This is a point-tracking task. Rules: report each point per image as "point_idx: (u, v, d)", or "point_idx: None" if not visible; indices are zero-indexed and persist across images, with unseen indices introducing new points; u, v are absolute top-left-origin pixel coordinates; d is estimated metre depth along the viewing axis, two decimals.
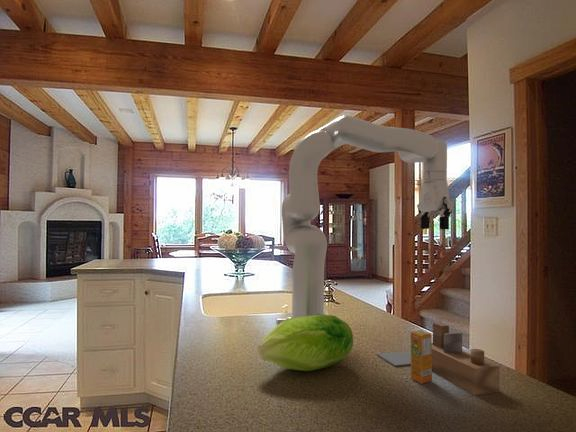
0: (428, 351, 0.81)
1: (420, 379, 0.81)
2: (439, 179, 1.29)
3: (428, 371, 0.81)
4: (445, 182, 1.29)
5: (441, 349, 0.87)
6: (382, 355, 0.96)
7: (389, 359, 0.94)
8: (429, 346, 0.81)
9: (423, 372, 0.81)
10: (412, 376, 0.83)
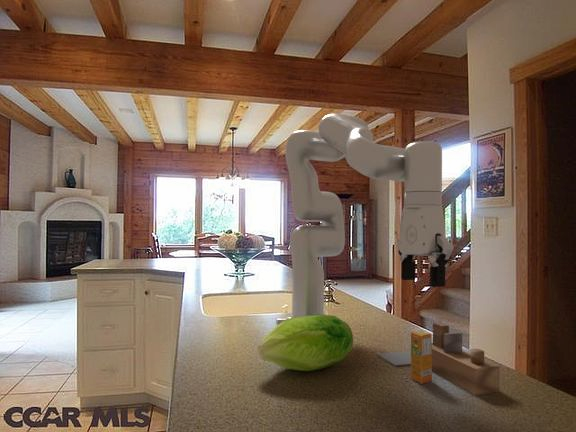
0: (428, 351, 0.81)
1: (420, 379, 0.81)
2: (429, 204, 0.79)
3: (428, 371, 0.81)
4: (439, 209, 0.79)
5: (441, 349, 0.87)
6: (382, 355, 0.96)
7: (389, 359, 0.94)
8: (429, 346, 0.81)
9: (424, 372, 0.81)
10: (412, 376, 0.83)
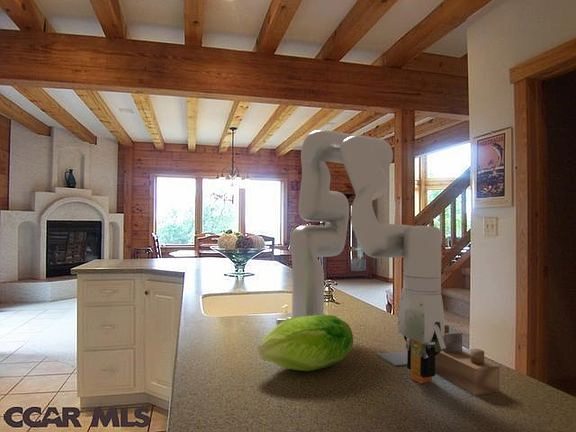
0: None
1: (420, 379, 0.81)
2: (428, 291, 0.79)
3: None
4: (438, 297, 0.79)
5: None
6: (382, 355, 0.96)
7: (389, 359, 0.94)
8: (429, 346, 0.81)
9: None
10: (412, 376, 0.83)
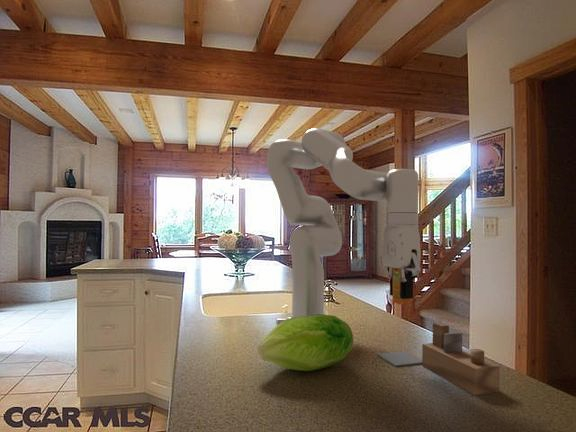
0: None
1: (400, 301, 0.93)
2: (407, 224, 0.92)
3: None
4: (415, 228, 0.91)
5: (441, 349, 0.87)
6: (382, 355, 0.96)
7: (389, 359, 0.94)
8: None
9: None
10: (394, 300, 0.95)
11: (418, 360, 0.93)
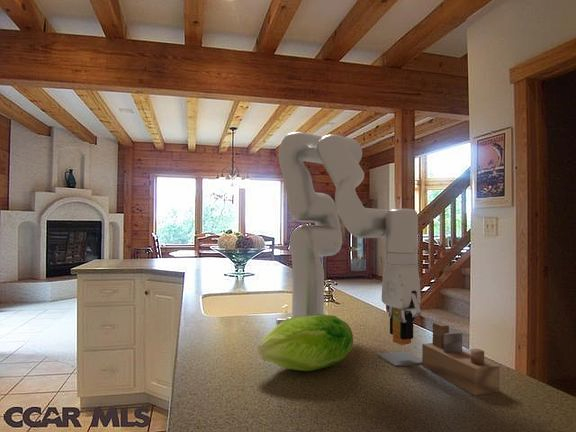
0: None
1: (400, 341, 0.93)
2: (406, 265, 0.92)
3: None
4: (415, 269, 0.91)
5: (441, 349, 0.87)
6: (382, 355, 0.96)
7: (389, 359, 0.94)
8: (408, 312, 0.94)
9: None
10: (394, 339, 0.95)
11: (418, 360, 0.93)
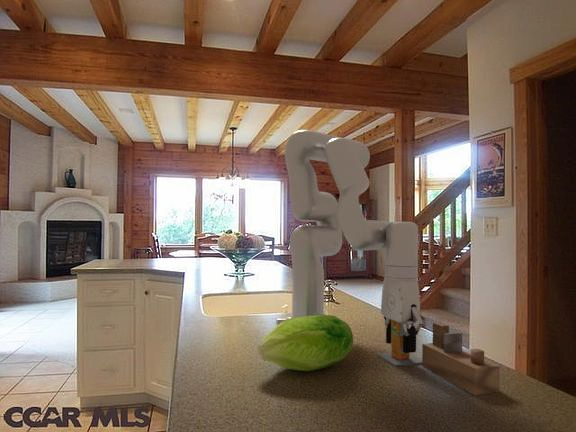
0: None
1: (398, 356, 0.93)
2: (406, 278, 0.91)
3: None
4: (414, 283, 0.91)
5: (441, 349, 0.87)
6: (382, 355, 0.96)
7: (389, 359, 0.94)
8: None
9: (401, 350, 0.93)
10: (392, 354, 0.95)
11: (418, 360, 0.93)
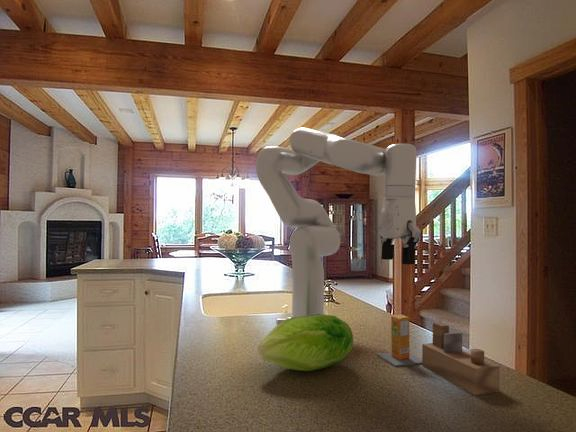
0: (406, 332, 0.94)
1: (398, 356, 0.93)
2: (403, 196, 0.96)
3: (406, 349, 0.94)
4: (411, 200, 0.95)
5: (441, 349, 0.87)
6: (382, 355, 0.96)
7: (389, 359, 0.94)
8: (407, 328, 0.94)
9: (402, 350, 0.93)
10: (392, 354, 0.95)
11: (418, 360, 0.93)
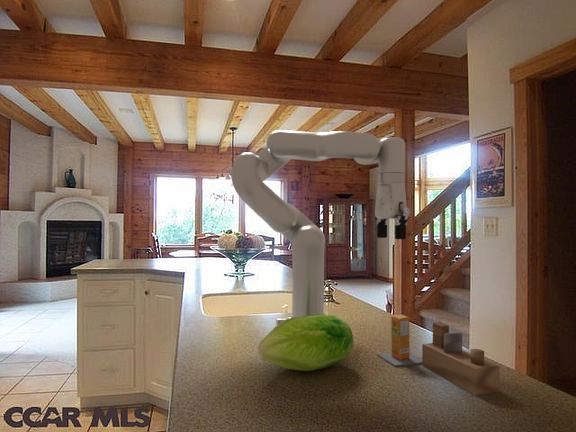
0: (406, 332, 0.94)
1: (398, 356, 0.93)
2: (395, 182, 1.13)
3: (406, 349, 0.94)
4: (402, 185, 1.12)
5: (441, 349, 0.87)
6: (382, 355, 0.96)
7: (389, 359, 0.94)
8: (407, 328, 0.94)
9: (402, 350, 0.93)
10: (392, 354, 0.95)
11: (418, 360, 0.93)
